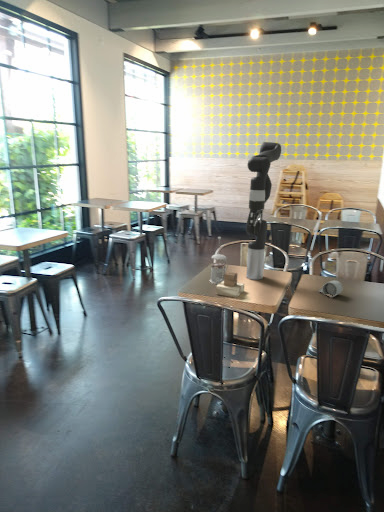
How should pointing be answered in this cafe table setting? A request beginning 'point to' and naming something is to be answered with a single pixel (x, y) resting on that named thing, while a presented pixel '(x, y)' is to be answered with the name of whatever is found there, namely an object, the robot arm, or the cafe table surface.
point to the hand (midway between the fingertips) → (255, 232)
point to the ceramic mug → (332, 288)
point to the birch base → (230, 289)
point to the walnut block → (230, 279)
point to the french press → (216, 273)
